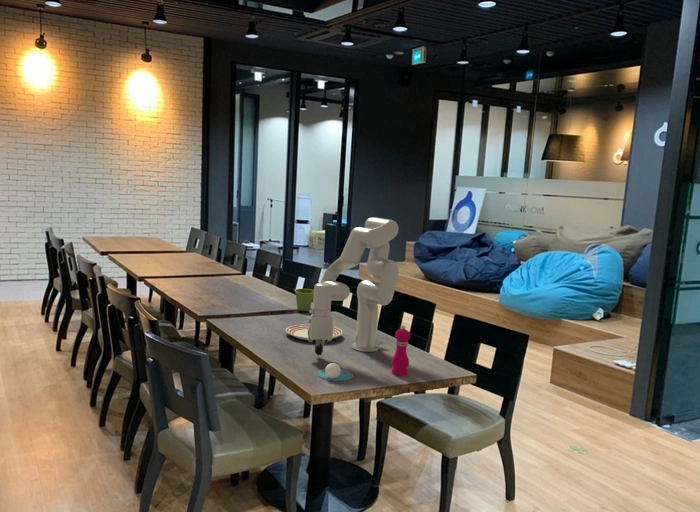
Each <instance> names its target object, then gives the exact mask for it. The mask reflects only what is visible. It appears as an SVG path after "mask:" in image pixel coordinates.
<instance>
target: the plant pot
mask: <svg viewBox="0 0 700 512" xmlns="http://www.w3.org/2000/svg"><path fill="white" fill-rule="evenodd" d="M294 293H295V299H296V308H297V311H300V312H309V311H310V310H311V309H312V308H311V307H312V304H313V299H314V289H310V288H296V289H294Z"/></svg>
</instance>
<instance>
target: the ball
mask: <svg viewBox="0 0 700 512" xmlns="http://www.w3.org/2000/svg"><path fill="white" fill-rule="evenodd" d="M324 369H325V373H326V375H327V376H328V377H329V378H331V379H335V378H337V377H338V376H339V375H340V373H341V369H342V368H341V366H340V365H339V364H338V363H336V362H331V363H329V364H327V365H326V367H325V368H324Z"/></svg>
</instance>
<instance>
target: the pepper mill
mask: <svg viewBox="0 0 700 512" xmlns="http://www.w3.org/2000/svg"><path fill="white" fill-rule="evenodd" d="M394 333H395V334H394V337H395V339H396V340H395V346H396V349H395V352H394V354H393V356H392V357H391V362H390V364H391V366H392V367H391V373H393V374H392V375H394V374H395V376H398V375H404V376H407V375H408V369H407V368H408V367H409V365H410V360H409V356H408V354H407V348H408V347H407V346H409V340H410V338H411V333H410V331H409V330H407V329H406V325H401V326H400V328H399V329H397V330H396V332H394Z"/></svg>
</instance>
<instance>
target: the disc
mask: <svg viewBox="0 0 700 512" xmlns="http://www.w3.org/2000/svg"><path fill="white" fill-rule="evenodd" d="M325 369H326V368H323V369H320V370H318V371H317V372H316V373H317V374H316V375H317V376H318V377H319V378H321V379H324V380H326V379H327V381H331V380H332V381H333V382H343V380H344V381H348V380H349V381H350V379H352V378H353V377H354V375H353V374H352V373H351V371H348V370H346V369H343V368H340V369H341V373H340V375H339V376H338V377H337V378H335V379H331V378H329V377H328V376H327V375H326V373H325Z"/></svg>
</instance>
